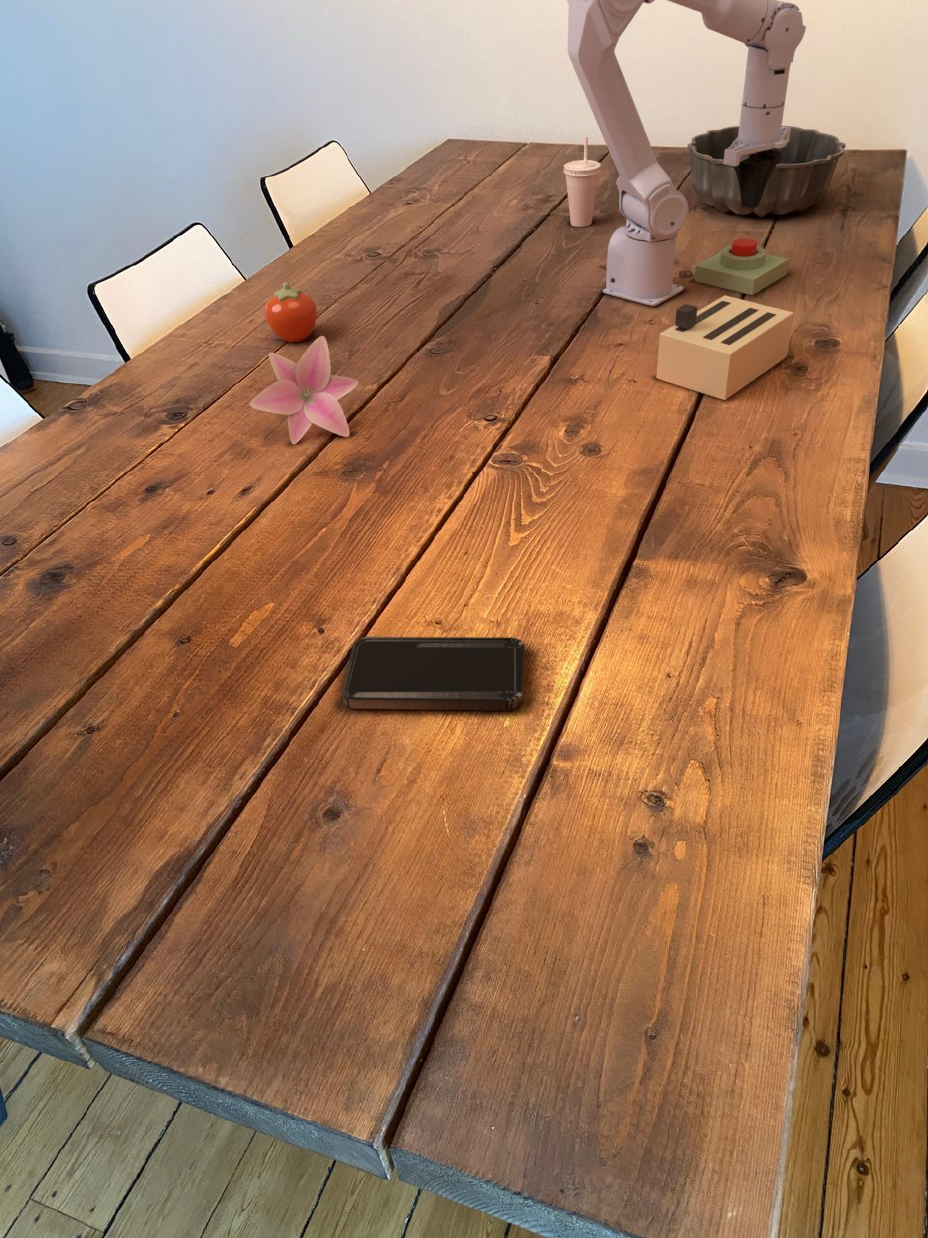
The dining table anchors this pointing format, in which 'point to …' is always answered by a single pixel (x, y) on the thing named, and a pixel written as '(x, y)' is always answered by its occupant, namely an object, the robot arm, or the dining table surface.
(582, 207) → the smoothie
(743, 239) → the timer button
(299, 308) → the tomato
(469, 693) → the phone
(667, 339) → the toaster
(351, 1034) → the dining table surface
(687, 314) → the slider
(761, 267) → the green button base
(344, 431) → the lily
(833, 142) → the bundt pan
